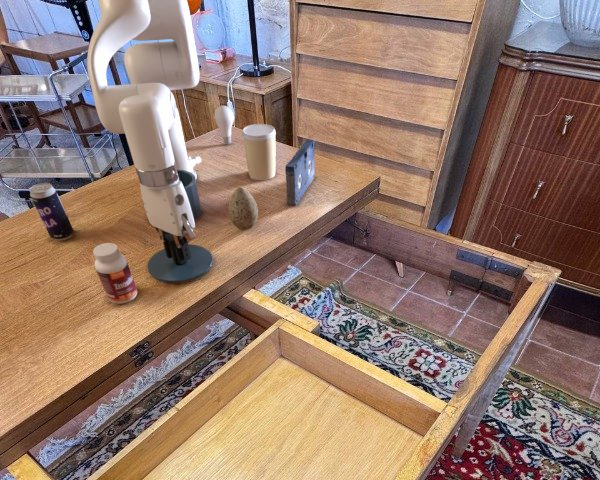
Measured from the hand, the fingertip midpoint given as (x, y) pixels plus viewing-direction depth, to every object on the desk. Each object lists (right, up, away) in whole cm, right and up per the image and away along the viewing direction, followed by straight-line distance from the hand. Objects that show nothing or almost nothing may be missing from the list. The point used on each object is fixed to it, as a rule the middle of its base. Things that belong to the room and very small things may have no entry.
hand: (179, 257), depth 99 cm
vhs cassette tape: (+28, +26, +25) cm, 45 cm away
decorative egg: (+13, +11, +12) cm, 21 cm away
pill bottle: (-10, -10, -5) cm, 15 cm away
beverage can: (-32, +9, +11) cm, 35 cm away
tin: (-6, +17, +17) cm, 25 cm away
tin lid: (0, -1, +1) cm, 2 cm away
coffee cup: (+16, +35, +32) cm, 49 cm away
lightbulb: (+3, +52, +47) cm, 70 cm away
